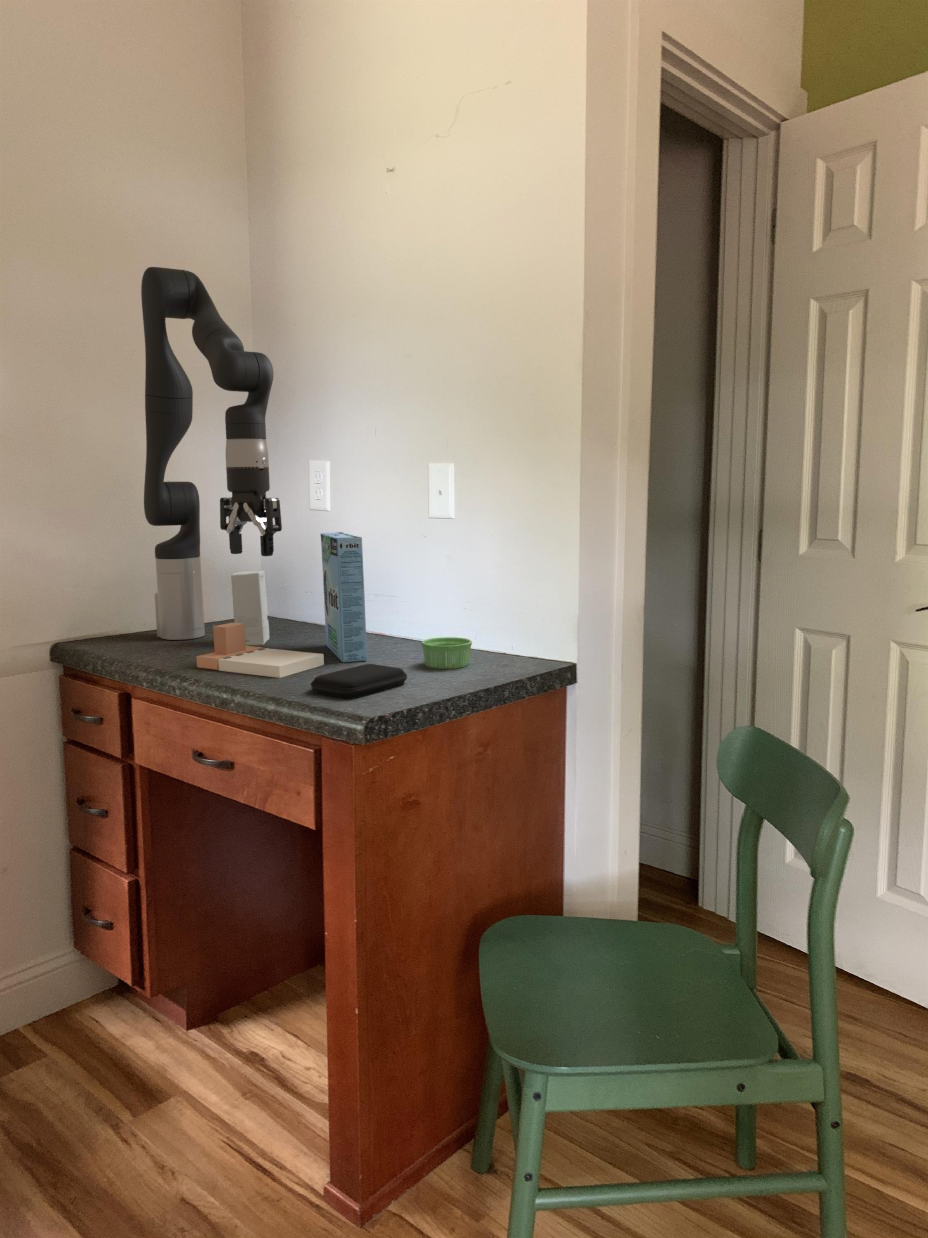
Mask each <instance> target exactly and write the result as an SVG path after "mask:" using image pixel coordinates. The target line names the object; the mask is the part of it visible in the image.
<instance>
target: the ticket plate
mask: <svg viewBox="0 0 928 1238" xmlns="http://www.w3.org/2000/svg"><path fill="white" fill-rule="evenodd" d="M324 657H325V655H324V653H316V652H309V651H308V652H307V651H306V652H305V651H299V650H297V651H296V650H287V649H275V648H267V647H263V649H258V650H255V651H250V652H246V653H242V654H238V655H234V656H230V657H226V658H222V659H218V663H219V670H218V671H220V672H221V671H222V672H229V673H237V674H246V675H253V676H262V677H263V676H264V677H269V678H277V679H279V678H280V679H282V678H284V677H287V676H292V675H293V674H298V673H301V672H304V671H308V670H311V669H316V668H318V667H322V666H324V665H325V658H324Z"/></svg>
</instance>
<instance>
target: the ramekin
mask: <svg viewBox="0 0 928 1238" xmlns="http://www.w3.org/2000/svg"><path fill="white" fill-rule="evenodd" d="M472 644H473V642H472V640H471V639H469V638H466V637H457V636H456V637H455V636H451V637H450V636H445V637H444V636H442V637H433V638H426V639H423V640H422V641H421V645H422V650H423V659H424V665H425V666H426V667H427V668H431V669H435V670H436V669H437V670H452V669H453V670H454V669H456V670H457V669H461V668H466V667H468V666H469V665H470V661H471V647H472Z"/></svg>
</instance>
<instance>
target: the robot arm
mask: <svg viewBox="0 0 928 1238" xmlns="http://www.w3.org/2000/svg"><path fill="white" fill-rule="evenodd" d="M140 288H141V289H140V291H141V293H140V296H141V309H142V322H143V335H144V348H145V349H144V352H145V356H144V357H145V377H144V378H145V379H144V380H145V381H144V382H145V383H144V412H145V413H144V416H145V434H146V435H145V438H146V439H145V440H146V444H145V445H146V446H145V447H146V448H145V449H146V452H145V454H146V455H145V457H146V458H145V473H144V488H143V510H144V515H145V520H146V521H147V523H148V524H149V525H151V526H153V527H164V526H166V527H167V526H170V527H171V526H180V528H179V531H178V532H177V534H175V535H174V536H172V537H171V538H169V539H167V540H164V541H162V542H159V543H157V544H155V547H154V558H155V560H154V561H155V571H156V572H155V573H156V587H157V588H156V589H157V592H155V593H154V607H155V620H156V621H155V622H156V623H155V624H156V637H158V638H160V639H163V640H169V641H170V640H171V641H172V640H173V641H174V640H175V641H176V640H177V641H178V640H179V641H180V640H192V639H198V638H202V637H204V636H205V635H206V634H205V633H206V631H205V614H204V613H205V611H204V597H203V595H204V594H203V582H202V581H203V579H202V577H203V576H202V565H201V564H202V563H201V560H202V559H201V530H200V527H201V524H200V523H201V522H200V520H201V518H200V515H201V514H200V513H201V512H200V510H201V509H200V508H201V505H200V504H201V503H200V495H199V490H198V488H197V485H195V483H193V481H192V482H191V481H165V475H166V471H167V470H166V469H167V466H168V463H169V461H170V458H171V456H172V455H173V454H174V452H175V450H176V449H177V447H178V446H179V444H180V442H181V441H182V440H183V438H184V436H185V435H186V434H187V432H188V430H189V428H190V426H191V425H192V422H193V413H194V411H193V409H194V407H193V406H194V403H193V401H194V399H193V398H194V391H193V387H192V384H191V381H190V379H189V376H188V375H187V373H186V371H185V369H184V368H183V366H182V364H181V363H180V361H179V359H178V358H177V356H176V355H175V353H174V351H173V349H172V347H171V344H170V341H169V337H168V333H167V327H166V326H167V325H166V319H177V320H186V319H189V320H192V321H194V322H193V323H192V327H191V335H192V339H193V342H194V344H195V346H196V347H197V349H198V351H199V352H200V353H201V354H202V355H203V356H204V357H205V359H206V360H207V363H208V364H209V368H210V370H211V371H210V372H211V376H212V380H213V381H214V383H215V384H216V386H217V387H219V388H220V389H222V390H224V391H227V392H241V393H242V392H243V393H248V394H247V398H246V399H245V402H244V403H242V404H238V405H237V404H236V405H232V406H230V407H228V408H226V410H225V412H224V413H225V415H224V416H225V417H224V421H225V439H226V442H225V471H226V488H227V491H228V492H229V493H231V496H230V497H229V496H228V497H221V498H219V519H220V520H219V525H220V527H219V529H220V530H222V531H226V533H227V534H228V538H229V539H228V540H229V542H228V543H229V550H230V554H231V555H240V554H243V539H242V537H243V535H242V533H241V532H242V530H243V529H244V526H245V525H246V524H248V522H249V523H252V524H253V525H254V526H255V527H257V529H258V530H259V532H260V538H259V539H260V541H259V542H260V555H261V556H262V557H272V556H273V555H274V551H275V548H274V547H275V546H274V543H275V542H274V535H275V534H276V533H278V532H281V531H282V529H283V525H282V514H281V513H282V511H281V502H280V498H278V497H267V492H269V491H270V490H271V487H270V485H271V484H270V483H271V482H270V465H269V464H270V463H269V450H268V444H267V429H266V427H267V426H266V425H267V424H266V414H267V410H268V404H269V400H270V394H271V391H272V387H273V386H272V385H273V382H274V367H273V363H272V362H271V360H270V358H269V357H268V356H267V355H266V354H264V353H263V352H255V351H245V347H244V344H243V341H242V340H241V338H239V336H238V335H237V334H236V333H235V331H234V330H232V328H231V327H230V326H229V325H228V324H227V323H226V321H224V319H223V318H222V317H221V315H220V313H219V310H218V309H217V307H216V305H215V303H214V302H213V299H212V297H211V296H210V294H209V292H208V289H206V287H205V285H204V283H203V282H202V280H201V279H200V277H199V276H198V275H197V274H196V273H194V272H192V271H189V270H186V269H179V268H178V269H177V268H169V267H158V266H149V267H147V268H146V269H145V270H144V271H143V275H142V277H141V286H140ZM227 517H228V522H227ZM273 519H274V520H273Z"/></svg>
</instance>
